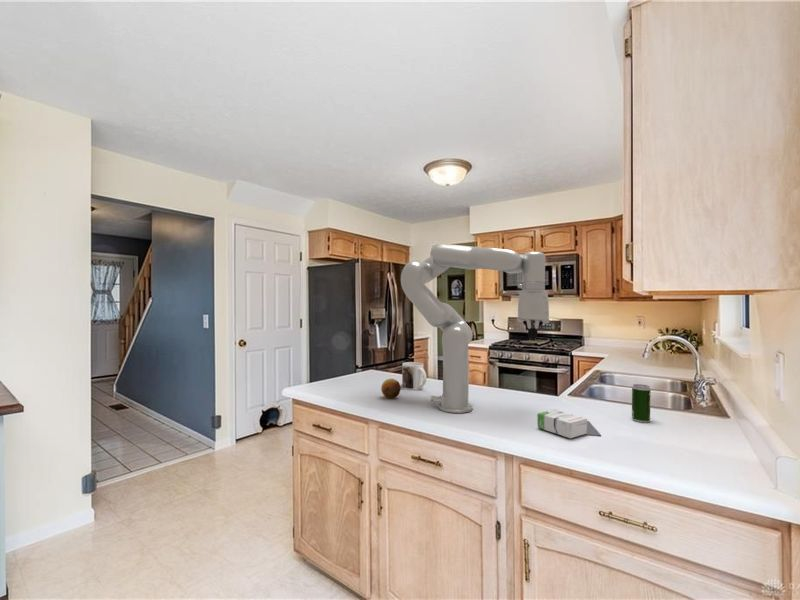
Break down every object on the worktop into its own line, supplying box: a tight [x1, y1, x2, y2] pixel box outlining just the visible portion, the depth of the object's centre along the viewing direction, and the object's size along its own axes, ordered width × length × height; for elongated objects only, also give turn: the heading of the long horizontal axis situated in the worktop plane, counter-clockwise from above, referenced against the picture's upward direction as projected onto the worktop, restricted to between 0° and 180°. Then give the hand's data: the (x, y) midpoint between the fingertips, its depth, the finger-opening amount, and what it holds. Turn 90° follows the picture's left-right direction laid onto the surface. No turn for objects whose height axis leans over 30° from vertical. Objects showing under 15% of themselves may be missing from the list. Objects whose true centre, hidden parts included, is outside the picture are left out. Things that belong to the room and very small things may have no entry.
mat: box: [583, 420, 602, 437], centre depth 125 cm, size 13×14×1 cm
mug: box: [401, 361, 427, 391], centre depth 177 cm, size 10×12×11 cm
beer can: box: [631, 383, 652, 424], centre depth 132 cm, size 5×5×12 cm
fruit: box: [380, 378, 402, 400], centre depth 159 cm, size 8×8×8 cm
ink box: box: [536, 409, 588, 439], centre depth 120 cm, size 9×5×12 cm
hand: (532, 339), depth 135 cm, fingers closed
